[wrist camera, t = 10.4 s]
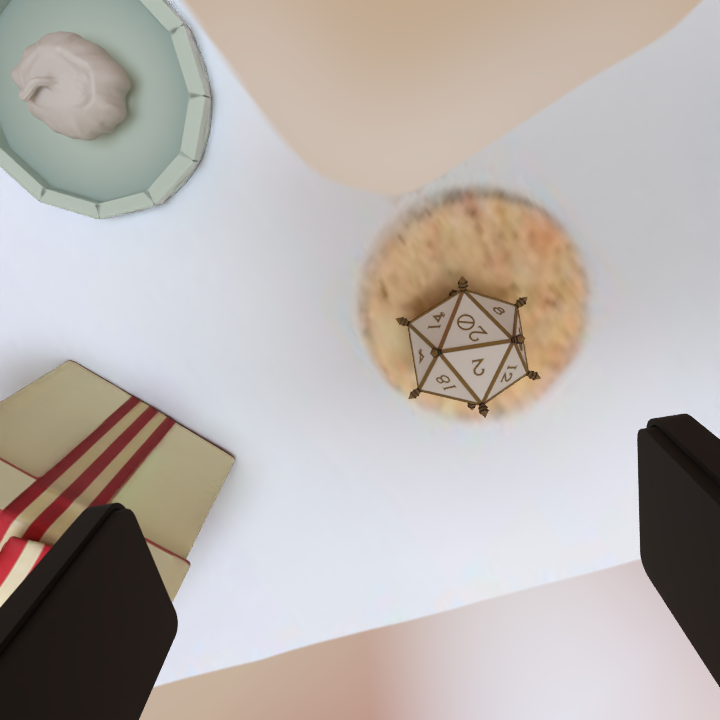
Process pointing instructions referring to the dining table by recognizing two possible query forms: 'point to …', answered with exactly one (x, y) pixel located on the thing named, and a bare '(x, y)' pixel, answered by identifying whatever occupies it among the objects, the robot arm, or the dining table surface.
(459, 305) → the game die
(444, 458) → the dining table surface
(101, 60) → the garlic
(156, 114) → the plate
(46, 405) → the gift box
